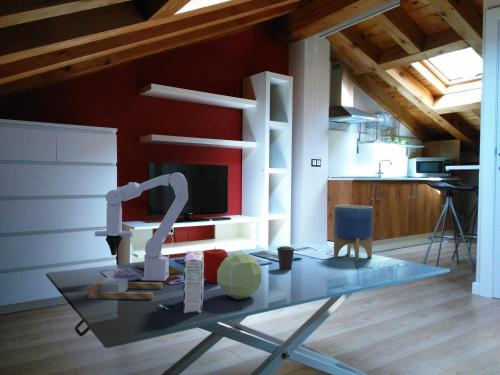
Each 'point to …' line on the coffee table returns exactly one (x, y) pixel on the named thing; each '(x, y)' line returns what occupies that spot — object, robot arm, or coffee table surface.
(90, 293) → the track
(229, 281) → the decorative sphere
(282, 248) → the coffee cup
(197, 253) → the candy box
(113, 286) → the keeper
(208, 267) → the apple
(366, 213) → the planter
